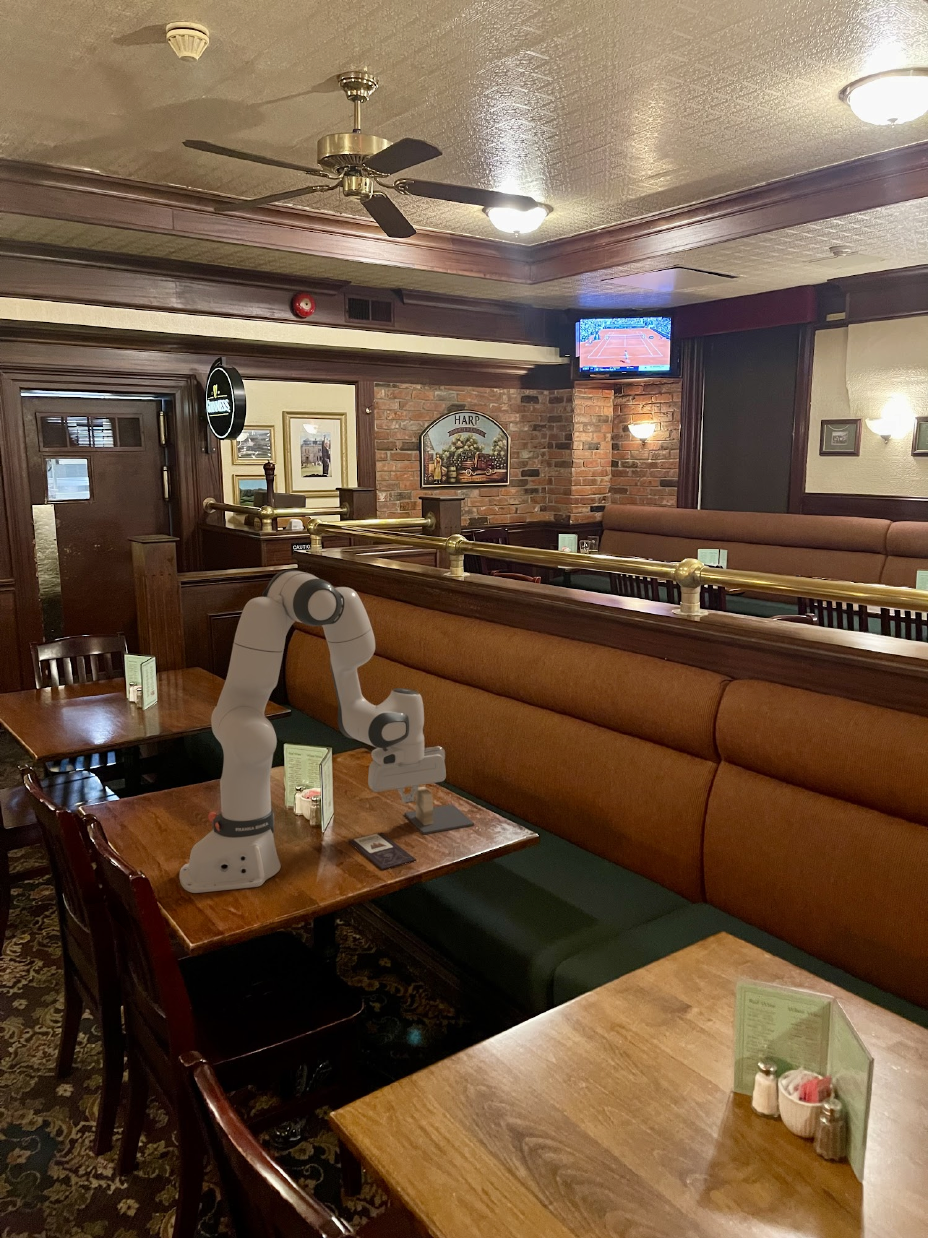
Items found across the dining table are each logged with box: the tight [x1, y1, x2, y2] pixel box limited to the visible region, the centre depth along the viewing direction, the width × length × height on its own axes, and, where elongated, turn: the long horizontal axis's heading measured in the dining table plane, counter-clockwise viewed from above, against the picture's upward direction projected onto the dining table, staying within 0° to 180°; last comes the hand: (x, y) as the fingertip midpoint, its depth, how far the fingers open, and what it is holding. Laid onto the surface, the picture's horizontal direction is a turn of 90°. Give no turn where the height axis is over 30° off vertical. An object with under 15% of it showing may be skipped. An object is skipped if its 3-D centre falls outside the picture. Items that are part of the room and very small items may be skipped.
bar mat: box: [404, 804, 475, 835], centre depth 240 cm, size 14×14×1 cm
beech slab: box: [415, 786, 434, 825], centre depth 237 cm, size 6×2×8 cm, turn 24°
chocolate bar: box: [348, 832, 417, 871], centre depth 221 cm, size 9×1×18 cm
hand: (407, 802), depth 235 cm, fingers closed
